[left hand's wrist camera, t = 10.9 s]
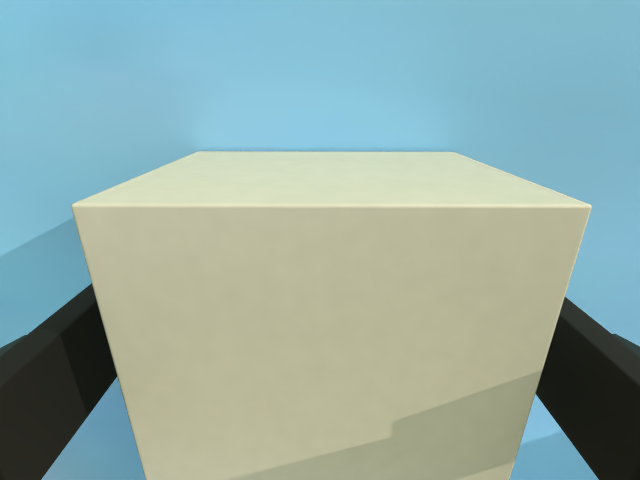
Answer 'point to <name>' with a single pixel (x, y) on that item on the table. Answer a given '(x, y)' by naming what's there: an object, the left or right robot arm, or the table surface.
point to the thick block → (329, 312)
